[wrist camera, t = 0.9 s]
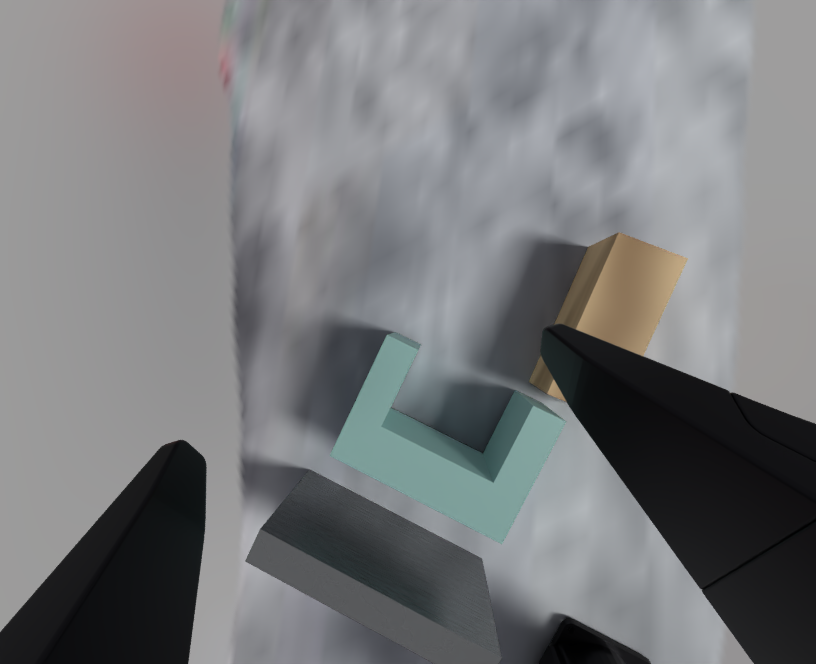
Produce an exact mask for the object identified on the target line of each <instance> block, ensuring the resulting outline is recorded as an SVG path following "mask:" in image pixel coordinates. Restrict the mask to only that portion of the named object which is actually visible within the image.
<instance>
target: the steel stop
mask: <svg viewBox="0 0 816 664" xmlns="http://www.w3.org/2000/svg"><path fill="white" fill-rule="evenodd" d="M246 562H248V563H249V564H251V565H253V566H255V567H257V568H259V569H260V570H262V571H264V572H266V573H268V574H270V575H271V576H273V577H275V578H277V579H279V580H281V581H283V582H284V583H286V584H288V585H290V586H292V587H294V588H295V589H297V590H299V591H301V592H303V593H305V594H307V595H308V596H310V597H312V598H314V599H316V600H318V601H319V602H321V603H323V604H325V605H327V606H329V607H331V608H332V609H334V610H336V611H338V612H340V613H342V614H343V615H345V616H347V617H349V618H351V619H353V620H355V621H356V622H358V623H360V624H362V625H364V626H366V627H367V628H369V629H371V630H373V631H375V632H377V633H379V634H380V635H382V636H384V637H386V638H388V639H390V640H391V641H393V642H395V643H397V644H399V645H401V646H403V647H404V648H406V649H408V650H410V651H412V652H414V653H415V654H417V655H419V656H421V657H423V658H425V659H426V660H428V661H430V662H432V663H434V664H499V662H500V661H501V659H502V656H501V651H500V646H499V641H498V636H497V631H496V626H495V621H494V616H493V611H492V606H491V601H490V596H489V591H488V586H487V581H486V576H485V571H484V566H483V561H482V559H481V558H479V557H477V556H475V555H473V554H472V553H470V552H468V551H466V550H464V549H462V548H460V547H458V546H456V545H454V544H452V543H450V542H448V541H446V540H445V539H443V538H441V537H439V536H437V535H435V534H433V533H431V532H429V531H427V530H425V529H423V528H421V527H419V526H417V525H416V524H414V523H412V522H410V521H408V520H406V519H404V518H402V517H400V516H398V515H396V514H394V513H392V512H390V511H388V510H387V509H385V508H383V507H381V506H379V505H377V504H375V503H373V502H371V501H369V500H367V499H365V498H363V497H361V496H360V495H358V494H356V493H354V492H352V491H350V490H348V489H346V488H344V487H342V486H340V485H338V484H336V483H334V482H332V481H331V480H329V479H327V478H325V477H323V476H321V475H319V474H317V473H315V472H313V471H311V470H309V471H308V472H307V474H306V475H305V476H304V477H303V478H302V480H301V481H300V482H299V483H298V484H297V486H296V487H295V488H294V489H293V490H292V492H291V493H290V494H289V495H288V496H287V498H286V499H285V500H284V501H283V502H282V504H281V505H280V506H279V507H278V508H277V510H276V511H275V512H274V513H273V514H272V516H271V517H270V518H269V519H268V520H267V522H266V523H265V524H264V525H263V526H262V528H261V529H260V531H259V533H258V535H257V537H256V539H255V541H254V544H253V546H252V548H251V550H250V552H249V554H248V556H247V559H246Z"/></svg>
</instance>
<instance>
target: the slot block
mask: <svg viewBox="0 0 816 664" xmlns="http://www.w3.org/2000/svg"><path fill="white" fill-rule="evenodd" d="M420 346H421V344H419V343H417V342H415V341H413V340H411V339H409V338H406V337H404V336H402V335H400V334H398V333H396V332H394V333H391V334H388V335H387V336H386V338H385V340H384V342H383V344H382V346H381V348H380V351H379V353H378V355H377V357H376V359H375V361H374V363H373V365H372V367H371V370H370V372H369V374H368V376H367V378H366V380H365V382H364V384H363V386H362V389H361V391H360V393H359V395H358V397H357V399H356V401H355V403H354V405H353V408H352V410H351V412H350V414H349V416H348V418H347V420H346V422H345V425H344V427H343V429H342V431H341V433H340V435H339V437H338V439H337V441H336V444H335V446H334V448H333V450H332V452H331V454H330V456H331V457H333V458H335V459H337V460H339V461H341V462H343V463H345V464H347V465H349V466H351V467H352V468H354V469H356V470H358V471H360V472H362V473H364V474H366V475H368V476H370V477H372V478H374V479H376V480H378V481H380V482H382V483H384V484H386V485H388V486H390V487H391V488H393V489H395V490H397V491H399V492H401V493H403V494H405V495H407V496H409V497H411V498H413V499H415V500H417V501H419V502H421V503H423V504H425V505H427V506H428V507H430V508H432V509H434V510H436V511H438V512H440V513H442V514H444V515H446V516H448V517H450V518H452V519H454V520H456V521H458V522H460V523H462V524H464V525H466V526H467V527H469V528H471V529H473V530H475V531H477V532H479V533H481V534H483V535H485V536H487V537H489V538H491V539H493V540H495V541H497V542H499V543H501V544H502V543H503V541H504V539H505V538H506V536H507V534H508V532H509V530H510V528H511V526H512V524H513V522H514V520H515V518H516V517H517V515H518V513H519V511H520V509H521V507H522V505H523V503H524V501H525V499H526V497H527V496H528V494H529V492H530V490H531V488H532V486H533V484H534V482H535V480H536V478H537V476H538V474H539V473H540V471H541V469H542V467H543V465H544V463H545V461H546V459H547V457H548V455H549V453H550V452H551V450H552V448H553V446H554V444H555V442H556V440H557V438H558V436H559V434H560V432H561V431H562V429H563V427H564V425H565V423H566V421H565V420H563V419H562V418H561V417H559V416H558V415H557V414H556V413H554V412H553V411H552V410H550V409H549V408H548V407H547V406H545V405H544V404H543V403H541V402H539V401H537V400H535V399H533V398H531V397H529V396H526V395H524V394H522V393H520V392H518V391H516V390H515V391H514V393H513V395H512V397H511V399H510V401H509V403H508V405H507V407H506V409H505V411H504V413H503V415H502V417H501V419H500V421H499V423H498V425H497V427H496V429H495V431H494V433H493V435H492V437H491V439H490V441H489V443H488V445H487V447H486V448H485V450H484V452H483V453H481V452H479V451H477V450H475V449H473V448H471V447H469V446H467V445H465V444H463V443H461V442H459V441H457V440H455V439H453V438H451V437H449V436H447V435H445V434H443V433H441V432H439V431H437V430H435V429H433V428H431V427H429V426H427V425H425V424H423V423H421V422H419V421H417V420H415V419H412V418H410V417H408V416H406V415H404V414H402V413H400V412H398V411H396V410H394V409H392V408H391V406H392V404H393V402H394V400H395V398H396V395H397V393H398V391H399V389H400V387H401V385H402V383H403V381H404V379H405V377H406V375H407V373H408V371H409V368H410V366H411V364H412V362H413V360H414V358H415V356H416V354H417V352H418V350H419V348H420Z"/></svg>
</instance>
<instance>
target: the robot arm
mask: <svg viewBox="0 0 816 664" xmlns="http://www.w3.org/2000/svg"><path fill="white" fill-rule="evenodd" d="M540 352H541V357H542V359H543V361H544V363H545V364H546V366H547V368H548V370H549V372H550V373H551V375H552V377H553V379H554V380H555V382H556V384H557V386H558V388H559V389H560V391H561V393H562V395H563V396H564V398H565V400H566V402H567V403H568V405H569V407H570V408H571V410H572V411H573V413H574V414H575V416H576V417H577V418H578V420H579V421H580V423H581V424H582V425H583V427H584V428H585V430H586V431H587V432H588V434H589V435H590V437H591V438H592V439H593V441H594V442H595V443H596V445H597V446H598V448H599V449H600V450H601V452H602V453H603V455H604V456H605V457H606V459H607V460H608V461H609V463H610V464H611V466H612V467H613V468H614V470H615V471H616V473H617V474H618V475H619V477H620V478H621V480H622V481H623V482H624V484H625V485H626V486H627V488H628V489H629V491H630V492H631V493H632V495H633V496H634V498H635V499H636V500H637V502H638V503H639V505H640V506H641V507H642V509H643V510H644V511H645V513H646V514H647V516H648V517H649V518H650V520H651V521H652V523H653V524H654V525H655V527H656V528H657V529H658V531H659V532H660V534H661V535H662V536H663V538H664V539H665V541H666V542H667V543H668V545H669V546H670V548H671V549H672V550H673V552H674V553H675V554H676V556H677V557H678V559H679V560H680V561H681V563H682V564H683V566H684V567H685V568H686V570H687V571H688V572H689V574H690V575H691V577H692V578H693V579H694V581H695V582H696V584H697V585H698V586H699V588H700V589H702V592H703V594H704V595H705V597H706V598H707V599H708V601H709V602H710V603H711V605H712V606H713V608H714V609H715V610H716V612H717V613H718V615H719V616H720V617H721V619H722V620H723V621H724V623H725V624H726V626H727V627H728V628H729V630H730V631H731V633H732V634H733V635H734V637H735V638H736V639H737V641H738V642H739V644H740V645H741V646H742V648H743V649H744V651H745V652H746V653H747V655H748V656H749V658H750V659H751V660H752V662H753V663H754V664H816V424H815V423H812V422H809V421H806V420H803V419H801V418H798V417H795V416H792V415H789V414H787V413H784V412H782V411H779V410H777V409H774V408H771V407H769V406H766V405H763V404H761V403H758V402H756V401H753V400H751V399H748V398H746V397H743V396H741V395H738V394H736V393H730V392H729V391H728V390H726V389H723V388H721V387H718V386H716V385H713V384H711V383H708V382H706V381H703V380H701V379H698V378H696V377H693V376H691V375H688V374H686V373H683V372H681V371H678V370H676V369H673V368H671V367H669V366H666V365H664V364H661V363H659V362H656V361H654V360H651V359H649V358H646V357H644V356H641V355H639V354H636V353H634V352H631V351H629V350H626V349H624V348H621V347H619V346H616V345H614V344H611V343H609V342H606V341H604V340H601V339H599V338H596V337H594V336H591V335H589V334H586V333H584V332H581V331H579V330H576V329H574V328H571V327H569V326H567V325H564V324H560V323H558V324H554V325H551V326H548V327H545V328H544V330H543V332H542V341H541V349H540ZM205 514H206V461H205V459H204V457H203V456H202V455H201V454H200V453H199V452H198V451H197V450H196V449H194V448H193V447H192V446H191V445H190V444H189V443H188V442H186V441H184V440H178V441H175V442H171V443H168V444H165V445H164V446H162V447H161V448H160V449H159V450H158V451H157V452H156V453H155V455H154V456H153V457H152V458H151V459H150V460H149V461H148V463H147V464H146V465H145V466H144V467H143V468H142V469H141V471H140V472H139V473H138V474H137V475H136V476H135V477H134V479H133V480H132V481H131V482H130V483H129V484H128V486H127V487H126V488H125V489H124V490H123V491H122V492H121V494H120V495H119V496H118V497H117V498H116V499H115V501H114V502H113V503H112V504H111V505H110V506H109V507H108V509H107V510H106V511H105V512H104V514H102V516H101V517H100V518H99V519H98V520H97V521H96V522H95V524H94V525H93V526H92V527H91V528H90V529H89V530H88V532H87V533H86V534H85V535H84V536H83V537H82V539H81V540H80V541H79V542H78V543H77V544H76V545H75V547H74V548H73V549H72V550H71V551H70V552H69V554H68V555H67V556H66V557H65V558H64V559H63V560H62V562H61V563H60V564H59V565H58V566H57V567H56V569H55V570H54V571H53V572H52V573H51V574H50V575H49V577H48V578H47V579H46V580H45V581H44V582H43V583H42V585H41V586H40V587H39V588H38V589H37V590H36V591H35V593H34V594H33V595H32V596H31V597H30V598H29V600H28V601H27V602H26V603H25V604H24V605H23V606H22V608H21V609H20V610H19V611H18V612H17V613H16V614H15V616H14V617H13V618H12V619H11V620H10V622H9V623H8V624H7V625H6V626H5V627H4V628H3V629H2V631H1V632H0V664H188V661H189V653H190V645H191V637H192V629H193V621H194V614H195V605H196V597H197V589H198V582H199V575H200V566H201V559H202V551H203V543H204V534H205V519H206V515H205ZM569 627H572V628H570V629H568V628H569ZM539 664H651V663H650V661H649V660H648V659H647V658H646V657H644V656H642V655H640V654H638V653H636V652H635V651H633V650H631V649H629V648H627V647H625V646H623V645H621V644H619V643H617V642H615V641H613V640H611V639H610V638H608V637H606V636H604V635H602V634H600V633H598V632H596V631H594V630H592V629H590V628H588V627H586V626H585V625H583V624H581V623H579V622H577V621H575V620H573V619H570V618H566V619H564V620H563V621H562V623H561V625H560V627H559V629H558V630H557V632H556V634H555V636H554V638H553V639H552V641H551V643H550V645H549V646H548V648H547V650H546V651H545V653H544V655H543V657H542V659H541V661H540V662H539Z"/></svg>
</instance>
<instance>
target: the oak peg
mask: <svg viewBox="0 0 816 664" xmlns="http://www.w3.org/2000/svg"><path fill="white" fill-rule="evenodd" d="M687 260H688V258H685V257H683V256H680V255H677V254H675V253H672V252H669V251H667V250H664V249H662V248H659V247H656V246H654V245H651V244H648V243H646V242H643V241H640V240H638V239H635V238H633V237H630V236H627V235H625V234H622V233H617V234H615V235H612V236H610V237H608V238H606V239H604V240H602V241H600V242H598V243H596V244H594V245H591V246H589V247H588V249H587V251H586V253H585V255H584V258H583V260H582V262H581V264H580V267H579V269H578V271H577V274H576V276H575V278H574V280H573V283H572V285H571V287H570V289H569V292H568V294H567V296H566V299H565V301H564V303H563V305H562V308H561V310H560V312H559V314H558V317H557V319H556V321H555V324H558V323H560V324H564V325H567V326H569V327H571V328H574V329H576V330H579V331H581V332H584V333H586V334H589V335H591V336H594V337H596V338H599V339H601V340H604V341H606V342H609V343H611V344H614V345H616V346H619V347H621V348H624V349H626V350H629V351H631V352H634V353H636V354H639V355H641V356H643V355H644V353H645V351H646V348H647V346H648V344H649V342H650V340H651V338H652V335H653V333H654V331H655V329H656V327H657V325H658V322H659V320H660V318H661V316H662V314H663V312H664V309H665V307H666V305H667V303H668V301H669V299H670V296H671V294H672V292H673V290H674V288H675V286H676V283H677V281H678V279H679V277H680V275H681V273H682V270H683V268H684V266H685V264H686V262H687ZM529 382H530V383H531V384H533V385H534V386H536V387H537V388H539V389H540V390H542V391H543V392H545V393H547V394H549V395H551V396H553V397H556V398H558V399H561V400H563V401H565V402H566V400H565V398H564V396H563V395H562V393H561V391H560V389H559V388H558V386H557V384H556V382H555V380H554V379H553V377H552V375H551V373H550V372H549V370H548V368H547V366H546V364H545V363H544V361H543V359H542V357H541V355H540V358H539V360H538V362H537V364H536V367H535V369H534V371H533V373H532V376H531V378H530V380H529Z"/></svg>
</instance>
